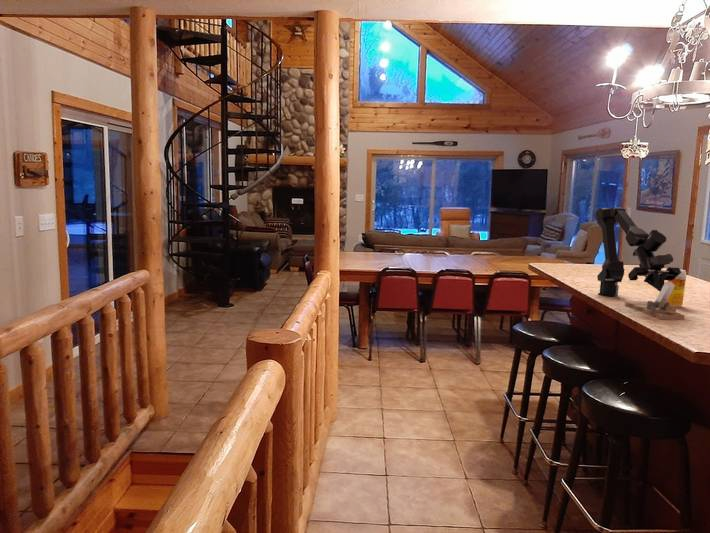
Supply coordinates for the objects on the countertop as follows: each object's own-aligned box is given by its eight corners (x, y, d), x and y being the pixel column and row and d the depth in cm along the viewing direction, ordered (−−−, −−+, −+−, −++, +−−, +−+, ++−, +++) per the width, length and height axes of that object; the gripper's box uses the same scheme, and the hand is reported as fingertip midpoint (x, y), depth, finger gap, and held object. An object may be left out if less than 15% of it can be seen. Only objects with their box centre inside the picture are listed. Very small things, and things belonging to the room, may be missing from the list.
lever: (651, 305, 204) (664, 281, 197) (659, 305, 204) (672, 282, 198) (655, 309, 202) (667, 285, 195) (663, 309, 203) (676, 285, 196)
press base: (624, 305, 216) (625, 293, 215) (645, 305, 217) (646, 293, 216) (661, 319, 195) (663, 306, 194) (684, 319, 196) (685, 306, 195)
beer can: (673, 308, 213) (678, 271, 211) (661, 304, 219) (665, 268, 217) (685, 307, 215) (690, 271, 213) (673, 303, 221) (677, 268, 218)
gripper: (636, 246, 202) (652, 280, 193) (681, 246, 204) (698, 280, 195) (621, 263, 211) (635, 296, 202) (664, 263, 213) (680, 296, 204)
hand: (662, 292), depth 200 cm, fingers closed, pressing on lever
